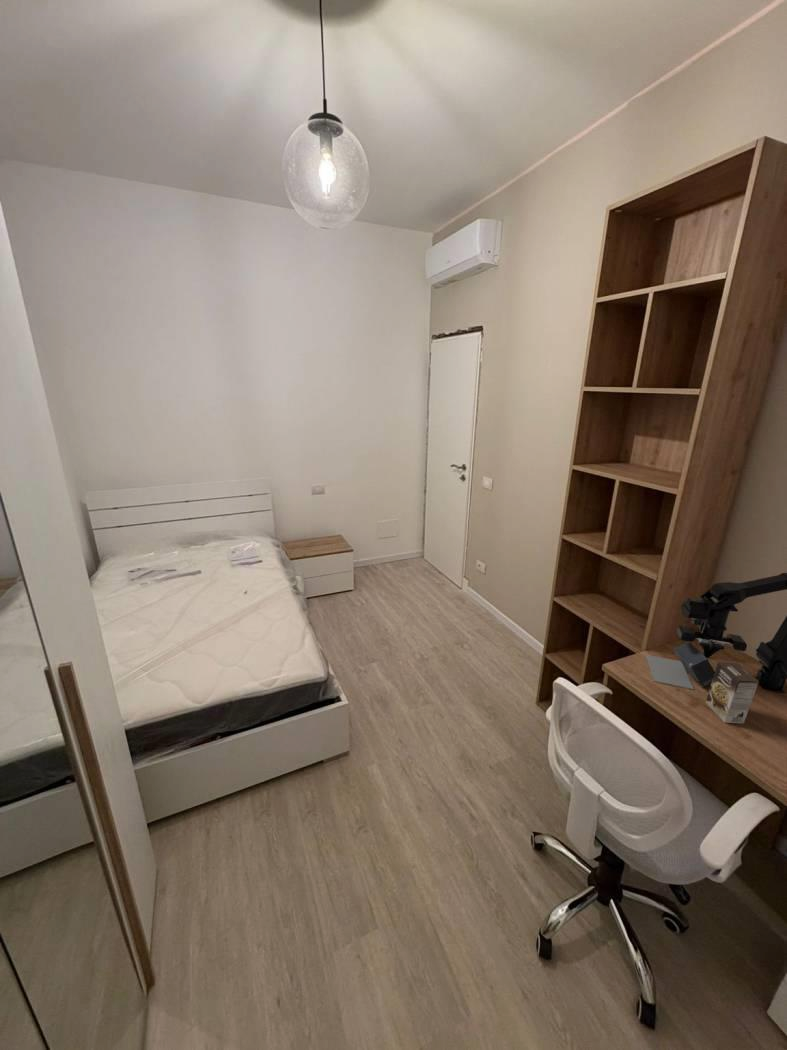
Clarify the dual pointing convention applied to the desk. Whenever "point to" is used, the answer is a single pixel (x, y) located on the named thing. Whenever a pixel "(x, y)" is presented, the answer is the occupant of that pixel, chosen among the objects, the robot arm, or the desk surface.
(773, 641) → the robot arm
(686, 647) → the small box
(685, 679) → the mat
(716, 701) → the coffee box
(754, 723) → the desk surface
